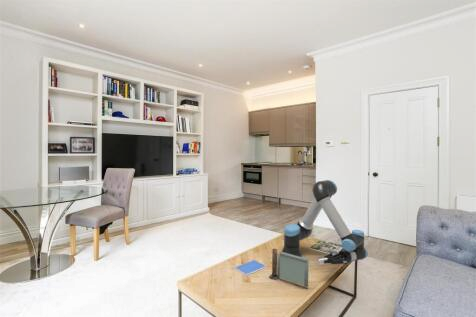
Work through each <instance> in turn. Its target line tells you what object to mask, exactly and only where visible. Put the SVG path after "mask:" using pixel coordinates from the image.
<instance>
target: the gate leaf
mask: <svg viewBox="0 0 476 317" xmlns="http://www.w3.org/2000/svg"><path fill="white" fill-rule="evenodd" d="M309 264H310V262H309V258H306V257H303V256H302V257H299V256H295V255H292V254H288V253H284V252H282V251H281V252H279V253H277V277H279V278H278V279H282V280H285V281H289V282H291V283H294V284H297V285H300V286H303V287H306V288H308V287H309Z"/></svg>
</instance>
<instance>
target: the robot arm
mask: <svg viewBox="0 0 476 317" xmlns="http://www.w3.org/2000/svg"><path fill="white" fill-rule="evenodd" d="M337 192H338V186H337V184H336V183H335V182H334V181H333V180H330V179H326V180H321V181H317V182H315V183H314V184H313V187H312V194H313V197H314V198H313V199H312V201H311V203H310V205H309V206H308V208H307V210H306V212H305V213H304V215H303V217H302V218H301V219H300V218H299V220H298V221H297V223H296V224H295V223H291V224H287V225H285V226H284V230H283V234H284V235H283V236H284V237H283V248H282V250H281V252H284V253H288V254H292V255H295V256H299V257H303V254H302V251H301V249H300V244H301V243H300V242H301V241H303V240H305V239H308V238H309V237H310V236H311V235H312V232H313V230H312V229H313V225H314V222H315V221H316V219H317V217H318V215H320V212H321V211H322V210H323V212H324V214H325V215H326V217H327V218H328V220H329V221H330V224H331V225H332V227H333V228H334V230H335V232H336V233H337V235H338V237H339V238H340V241H341V247H342V249H343V250H340V251H339V252H338V253H334V252H330V253H328V254H325V255H324V256H323V258H320V259H319V258H318V259H317V264H318V265H325V264H331V265H346V264H347V263H351V262H355V261H361V260H364V259H367V257H368V255H369V253H368V250H367V249H366V248H365V233H364V231H363V230H360V229H353V230H351V231H350V229H349V227H348V226H347V224H346V223H345V221H344V220H343V218H342V216H341V214H340V213H339V211H338V210H337V207H335V206H336V205H334V204H333V203H334V202H333V201H332V199H331V198H332V196H334V195H336V193H337Z"/></svg>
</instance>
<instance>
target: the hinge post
mask: <svg viewBox="0 0 476 317" xmlns="http://www.w3.org/2000/svg"><path fill="white" fill-rule="evenodd" d="M271 254H272V258H271V259H272V260H271V274H270V275H269V276H268V278H269V279H272V280H275V281H277V280H279V279H280V278H279V277H277V257H278V249H277V248H272V253H271Z"/></svg>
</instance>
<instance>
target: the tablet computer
mask: <svg viewBox="0 0 476 317" xmlns="http://www.w3.org/2000/svg"><path fill="white" fill-rule="evenodd" d="M265 268H267V265H266V264H263V263H262V262H259V261H257V260H255V259H253V260H250V261H248V262H245V263H243V264H241V265H237V266H235V267H234V269H235V270H236V271H238V272H239V273H241V274H243V275H244V276H248V275H251V274H253V273H255V272H257V271H261V270H263V269H265Z"/></svg>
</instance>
